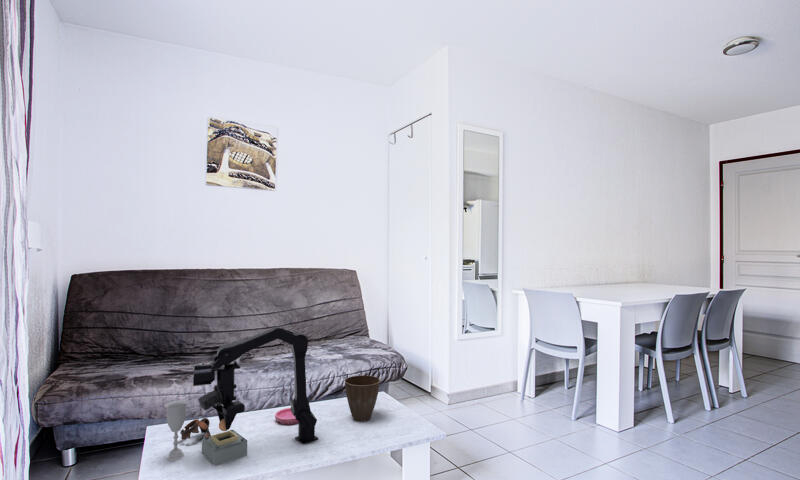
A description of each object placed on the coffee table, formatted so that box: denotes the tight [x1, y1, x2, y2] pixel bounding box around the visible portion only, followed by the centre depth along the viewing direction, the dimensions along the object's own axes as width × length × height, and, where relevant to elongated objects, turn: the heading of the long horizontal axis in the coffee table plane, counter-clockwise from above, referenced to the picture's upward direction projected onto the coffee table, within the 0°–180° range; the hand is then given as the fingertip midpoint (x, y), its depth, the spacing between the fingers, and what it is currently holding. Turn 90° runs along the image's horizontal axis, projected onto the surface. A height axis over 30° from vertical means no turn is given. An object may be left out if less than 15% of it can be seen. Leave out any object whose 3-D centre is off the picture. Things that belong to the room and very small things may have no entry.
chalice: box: [164, 399, 189, 462], centre depth 146 cm, size 7×7×18 cm
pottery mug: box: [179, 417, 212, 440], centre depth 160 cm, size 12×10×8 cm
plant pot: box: [344, 374, 381, 422], centre depth 181 cm, size 15×15×16 cm
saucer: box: [274, 407, 299, 425], centre depth 178 cm, size 12×12×3 cm
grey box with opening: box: [201, 429, 248, 467], centre depth 148 cm, size 12×11×6 cm
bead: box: [218, 419, 228, 432], centre depth 148 cm, size 4×4×4 cm
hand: (225, 427), depth 148 cm, fingers closed on bead, 4 cm apart
